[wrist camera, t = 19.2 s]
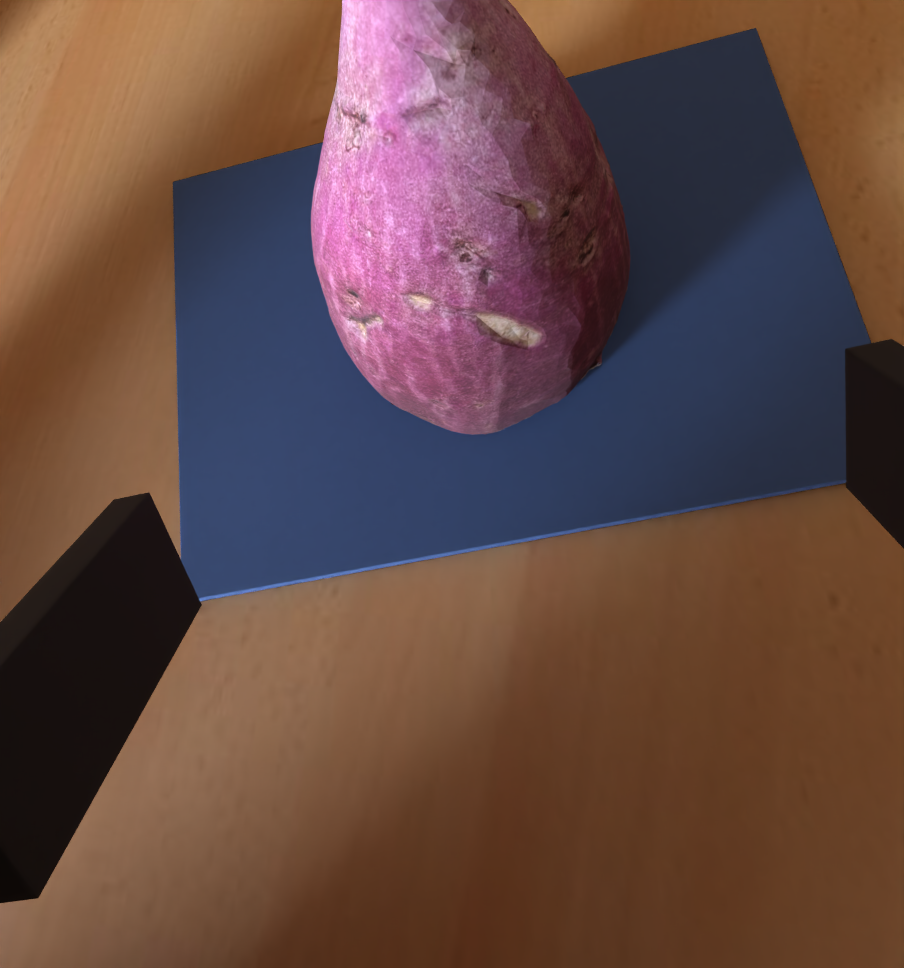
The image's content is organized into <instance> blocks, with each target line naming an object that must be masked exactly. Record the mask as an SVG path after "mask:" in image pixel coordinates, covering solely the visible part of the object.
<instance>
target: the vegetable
mask: <svg viewBox="0 0 904 968" xmlns="http://www.w3.org/2000/svg"><path fill="white" fill-rule="evenodd" d="M311 236H312V247H313V257H314V263H315V267H316V270H317V274H318V277H319V280H320V283H321V287H322V290H323V293H324V296H325V299H326V303H327V306H328V309H329V315H330V317H331V320H332V322H333V324H334V326H335V328H336V330H337V333H338V335H339V337H340V340H341V342H342V344H343V346H344V348H345V350H346V351H347V353H348V355H349V356H350V358H351V359H352V361H353V362H354V364H355V365H356V366H357V368H358V369H359V371H360V372H361V373H362V375H363V376H364V377H365V378H366V379H367V380H368V382H369V383H370V384H371V385H372V386H373V387H374V388H375V389H376V390H377V391H378V393H380V395H381V396H383V398H385V399H386V400H388V401H389V402H390V403H391V404H392V405H395V406H396V407H398V408H400V409H402V410H404V411H407V412H409V413H411V414H413V415H415V416H417V417H418V418H420V419H423V420H425V421H428V422H430V423H432V424H434V425H437V426H439V427H442V428H444V429H447V430H450V431H453V432H458V433H463V434H472V435H473V434H485V435H486V434H489V433H494V432H498V431H501V430H503V429H504V428H507V427H509V426H511V425H514V424H517V423H518V422H520V421H522V420H524V419H527V418H529V417H531V416H533V415H534V414H535V413H537V412H539V411H541V410H543V409H545V408H547V407H549V406H551V405H552V404H555V403H557V402H559V401H560V400H561V399H563V398H564V397H565V396H567V395H568V394H569V393H570V392H571V390H572V389H573V388H574V387H575V386H576V385H577V383H578V382H579V381H580V380H581V379H583V377H584V376H585V375H586V374H587V372H588V371H589V369H594V367H596V366H599V365H601V364H602V358H601V357H602V352H603V349H604V347H605V346H606V344H607V341H608V339H609V337H610V335H611V334H612V332H613V329H614V326H615V324H616V322H617V320H618V316H619V313H620V310H621V307H622V304H623V301H624V297H625V294H626V291H627V286H628V280H629V271H630V246H629V239H628V234H627V229H626V224H625V219H624V212H623V206H622V205H621V202H620V197H619V193H618V191H617V188H616V185H615V182H614V178H613V175H612V172H611V169H610V164H609V162H608V161H607V158H606V156H605V153H604V150H603V147H602V145H601V143H600V141H599V139H598V137H597V135H596V131H595V127H594V124H593V123H592V121H591V119H590V117H589V116H588V114H587V113H586V111H585V110H584V109H583V107H582V106H581V104H580V102H579V100H578V98H577V96H576V94H575V92H574V91H573V89H572V87H571V86H570V84H569V82H568V81H567V79H566V78H565V76H564V75H563V74H562V72H561V71H560V69H559V68H558V66H557V65H556V63H555V61H554V60H553V59H552V58H551V57H550V56H549V54H548V53H547V52H546V51H545V49H544V48H543V47H542V45H541V44H540V42H539V41H538V39H537V38H536V36H535V35H534V33H533V32H532V30H531V29H530V28H529V26H528V25H527V24H526V22H525V21H524V20H523V18H522V17H521V16H520V14H519V13H518V11H517V10H516V9H515V8H514V7H513V6H512V5H511V3H510V2H509V1H508V0H342V19H341V32H340V46H339V61H338V78H337V84H336V89H335V93H334V97H333V101H332V105H331V109H330V113H329V117H328V121H327V125H326V129H325V135H324V141H323V145H322V150H321V155H320V161H319V167H318V173H317V178H316V181H315V186H314V190H313V200H312V209H311Z"/></svg>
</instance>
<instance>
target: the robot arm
mask: <svg viewBox="0 0 904 968" xmlns="http://www.w3.org/2000/svg"><path fill="white" fill-rule="evenodd" d="M845 402H846V488H847V489H848V490H849V491H850V492H851V493H852V494H853V495H854V496H855V497H856V498H857V499H858V500H859V501H860V502H861V504H862V505H863V506H864V507H865V508H866V509H867V510H868V511H869V512H870V513H871V514H872V515H873V516H874V517H875V518H876V520H877V521H878V522H879V523H880V524H881V525H882V526H883V527H884V528H885V529H886V530H887V531H888V532H889V533H890V534H891V536H892V537H893V538H894V539H895V540H896V541H897V542H898V543H899V544H900V545H901V546H902V547H903V548H904V346H903V345H901V344H899V343H898V342H896V341H894V340H892V339H889V340H884V341H880V342H875V343H870V344H865V345H860V346H855V347H851V348H846V349H845ZM201 605H202V604H201V602H200V600H199V598H198V596H197V594H196V592H195V589H194V587H193V585H192V583H191V581H190V579H189V577H188V574H187V572H186V570H185V568H184V566H183V564H182V562H181V559H180V557H179V555H178V553H177V551H176V549H175V547H174V544H173V542H172V540H171V538H170V536H169V534H168V532H167V529H166V527H165V525H164V523H163V521H162V519H161V516H160V514H159V512H158V510H157V508H156V506H155V504H154V501H153V499H152V497H151V495H150V493H144V494H139V495H134V496H129V497H124V498H119V499H115V500H113V501H112V502H111V503H110V504H109V505H108V506H107V508H106V509H105V510H104V511H103V512H102V513H101V514H100V515H99V516H98V517H97V518H96V519H95V520H94V522H93V523H92V524H91V525H90V526H89V527H88V528H87V529H86V530H85V531H84V532H83V533H82V535H81V536H80V537H79V538H78V539H77V540H76V541H75V542H74V543H73V544H72V545H71V546H70V548H69V549H68V550H67V551H66V552H65V553H64V554H63V555H62V556H61V557H60V558H59V559H58V560H57V562H56V563H55V564H54V565H53V566H52V567H51V568H50V569H49V570H48V571H47V572H46V573H45V575H44V576H43V577H42V578H41V579H40V580H39V581H38V582H37V583H36V584H35V585H34V586H33V588H32V589H31V590H30V591H29V592H28V593H27V594H26V595H25V596H24V597H23V598H22V599H21V600H20V602H19V603H18V604H17V605H16V606H15V607H14V608H13V609H12V610H11V611H10V612H9V613H8V615H7V616H6V617H5V618H4V619H3V620H2V621H1V622H0V903H5V902H12V901H20V900H28V899H36V898H39V896H40V894H41V892H42V890H43V889H44V887H45V885H46V883H47V881H48V880H49V878H50V876H51V874H52V872H53V871H54V869H55V867H56V865H57V863H58V862H59V860H60V858H61V856H62V855H63V853H64V851H65V849H66V847H67V846H68V844H69V842H70V840H71V838H72V837H73V835H74V833H75V831H76V829H77V828H78V826H79V824H80V822H81V820H82V819H83V817H84V815H85V813H86V811H87V810H88V808H89V806H90V804H91V803H92V801H93V799H94V797H95V795H96V794H97V792H98V790H99V788H100V786H101V785H102V783H103V781H104V779H105V777H106V776H107V774H108V772H109V770H110V768H111V767H112V765H113V763H114V761H115V760H116V758H117V756H118V754H119V752H120V751H121V749H122V747H123V745H124V743H125V742H126V740H127V738H128V736H129V734H130V733H131V731H132V729H133V727H134V725H135V724H136V722H137V720H138V718H139V716H140V715H141V713H142V711H143V709H144V708H145V706H146V704H147V702H148V700H149V699H150V697H151V695H152V693H153V691H154V690H155V688H156V686H157V684H158V682H159V681H160V679H161V677H162V675H163V673H164V672H165V670H166V668H167V666H168V665H169V663H170V661H171V659H172V657H173V656H174V654H175V652H176V650H177V648H178V647H179V645H180V643H181V641H182V639H183V638H184V636H185V634H186V632H187V630H188V629H189V627H190V625H191V623H192V621H193V620H194V618H195V616H196V614H197V613H198V611H199V609H200V607H201Z"/></svg>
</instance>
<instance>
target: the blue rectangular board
mask: <svg viewBox="0 0 904 968" xmlns="http://www.w3.org/2000/svg"><path fill="white" fill-rule="evenodd" d="M566 79H567V81H568V82H569V84H570V86H571V87H572V89H573V91H574V92H575V94H576V96H577V98H578V100H579V102H580V104H581V106H582V107H583V109H584V110H585V111H586V113H587V114H588V116H589V117H590V119H591V121H592V123H593V124H594V127H595V131H596V135H597V137H598V139H599V141H600V143H601V145H602V147H603V150H604V153H605V156H606V158H607V161H608V162H609V164H610V169H611V172H612V175H613V178H614V182H615V185H616V188H617V191H618V193H619V197H620V202H621V205H622V206H623V212H624V219H625V224H626V229H627V234H628V239H629V246H630V271H629V280H628V286H627V291H626V294H625V297H624V301H623V304H622V307H621V310H620V313H619V316H618V320H617V322H616V324H615V326H614V329H613V332H612V334H611V335H610V337H609V339H608V341H607V344H606V346H605V347H604V349H603V352H602V357H601V358H602V364H601V365H599V366H596V367H594V369H589V371H588V372H587V374H586V375H585V376H584V377H583V379H581V380H580V381H579V382H578V383H577V385H576V386H575V387H574V388H573V389H572V390H571V392H570V393H569V394H568V395H567V396H565V397H564V398H563V399H561V400H560V401H559V402H557V403H555V404H552V405H551V406H549V407H547V408H545V409H543V410H541V411H539V412H537V413H535V414H534V415H533V416H531V417H529V418H527V419H524V420H522V421H520V422H518V423H517V424H514V425H511V426H509V427H507V428H504V429H503V430H501V431H498V432H494V433H489V434H486V435H485V434H473V435H472V434H463V433H458V432H453V431H450V430H447V429H444V428H442V427H439V426H437V425H434V424H432V423H430V422H428V421H425V420H423V419H420V418H418V417H417V416H415V415H413V414H411V413H409V412H407V411H404V410H402V409H400V408H398V407H396V406H395V405H392V404H391V403H390V402H389V401H388V400H386V399H385V398H383V396H381V395H380V393H378V391H377V390H376V389H375V388H374V387H373V386H372V385H371V384H370V383H369V382H368V380H367V379H366V378H365V377H364V376H363V375H362V373H361V372H360V371H359V369H358V368H357V366H356V365H355V364H354V362H353V361H352V359H351V358H350V356H349V355H348V353H347V351H346V350H345V348H344V346H343V344H342V342H341V340H340V337H339V335H338V333H337V330H336V328H335V326H334V324H333V322H332V320H331V317H330V315H329V309H328V306H327V303H326V299H325V296H324V293H323V290H322V287H321V283H320V280H319V277H318V274H317V270H316V267H315V263H314V257H313V247H312V236H311V209H312V200H313V190H314V186H315V181H316V178H317V173H318V167H319V161H320V155H321V150H322V145H323V142H322V143H318V144H314V145H310V146H307V147H303V148H299V149H295V150H292V151H288V152H284V153H280V154H276V155H273V156H269V157H265V158H261V159H257V160H254V161H250V162H246V163H242V164H238V165H235V166H231V167H227V168H223V169H220V170H216V171H212V172H208V173H204V174H201V175H197V176H193V177H189V178H185V179H182V180H178V181H174V182H173V214H174V260H175V306H176V351H177V397H178V443H179V489H180V534H181V562H182V564H183V566H184V568H185V570H186V572H187V574H188V577H189V579H190V581H191V583H192V585H193V587H194V589H195V592H196V594H197V596H198V598H199V600H200V601H204V600H210V599H215V598H221V597H226V596H231V595H237V594H242V593H248V592H253V591H259V590H264V589H270V588H275V587H281V586H286V585H291V584H297V583H302V582H308V581H313V580H319V579H324V578H330V577H335V576H341V575H346V574H351V573H357V572H362V571H368V570H373V569H379V568H384V567H390V566H395V565H401V564H406V563H411V562H417V561H422V560H428V559H433V558H439V557H444V556H450V555H455V554H461V553H466V552H471V551H477V550H482V549H488V548H493V547H499V546H504V545H510V544H515V543H521V542H526V541H531V540H537V539H542V538H548V537H553V536H559V535H564V534H570V533H575V532H581V531H586V530H591V529H597V528H602V527H608V526H613V525H619V524H624V523H630V522H635V521H641V520H646V519H651V518H657V517H662V516H668V515H673V514H679V513H684V512H690V511H695V510H701V509H706V508H712V507H717V506H722V505H728V504H733V503H739V502H744V501H750V500H755V499H761V498H766V497H772V496H777V495H782V494H788V493H793V492H799V491H804V490H810V489H815V488H821V487H826V486H832V485H837V484H842V483H846V402H845V349H846V348H851V347H855V346H860V345H865V344H870V343H871V341H870V338H869V335H868V333H867V330H866V327H865V324H864V322H863V319H862V316H861V314H860V311H859V308H858V305H857V303H856V300H855V297H854V294H853V292H852V289H851V286H850V283H849V281H848V278H847V275H846V273H845V270H844V267H843V264H842V262H841V259H840V256H839V253H838V251H837V248H836V245H835V243H834V240H833V237H832V234H831V232H830V229H829V226H828V223H827V221H826V218H825V215H824V212H823V210H822V207H821V204H820V202H819V199H818V196H817V193H816V191H815V188H814V185H813V182H812V180H811V177H810V174H809V172H808V169H807V166H806V163H805V161H804V158H803V155H802V152H801V150H800V147H799V144H798V141H797V139H796V136H795V133H794V131H793V128H792V125H791V122H790V120H789V117H788V114H787V111H786V109H785V106H784V103H783V101H782V98H781V95H780V92H779V90H778V87H777V84H776V81H775V79H774V76H773V73H772V70H771V68H770V65H769V62H768V60H767V57H766V54H765V51H764V49H763V46H762V43H761V40H760V38H759V35H758V32H757V29H756V28H754V29H750V30H746V31H742V32H739V33H735V34H731V35H727V36H724V37H720V38H716V39H712V40H708V41H705V42H701V43H697V44H693V45H689V46H686V47H682V48H678V49H674V50H670V51H667V52H663V53H659V54H655V55H652V56H648V57H644V58H640V59H636V60H633V61H629V62H625V63H621V64H617V65H614V66H610V67H606V68H602V69H598V70H595V71H591V72H587V73H583V74H580V75H576V76H572V77H568V78H566Z"/></svg>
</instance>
